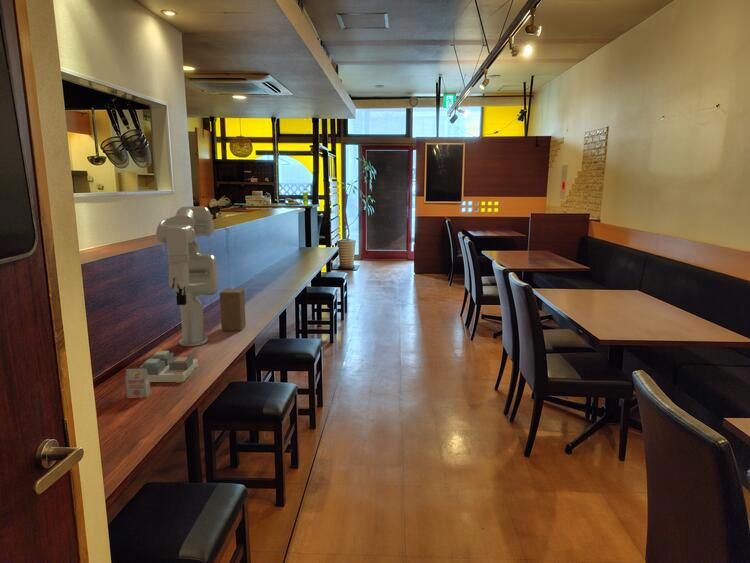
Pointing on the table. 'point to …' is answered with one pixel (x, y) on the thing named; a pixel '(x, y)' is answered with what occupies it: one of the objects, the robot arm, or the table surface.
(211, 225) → the robot arm
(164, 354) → the sage button
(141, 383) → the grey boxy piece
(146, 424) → the table surface
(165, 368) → the button panel
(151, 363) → the slate button
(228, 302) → the wooden block
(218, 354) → the table surface
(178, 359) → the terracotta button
